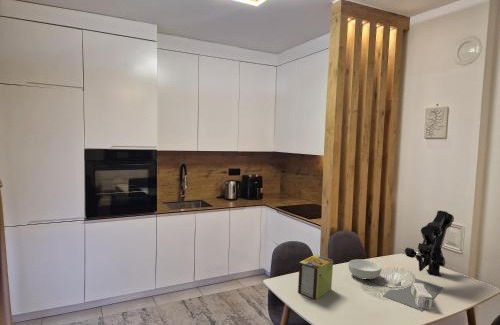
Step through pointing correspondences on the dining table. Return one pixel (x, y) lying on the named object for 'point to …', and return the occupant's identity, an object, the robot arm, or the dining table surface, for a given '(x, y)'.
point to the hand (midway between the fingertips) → (420, 270)
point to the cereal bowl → (364, 269)
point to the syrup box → (421, 295)
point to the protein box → (315, 276)
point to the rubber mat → (406, 296)
